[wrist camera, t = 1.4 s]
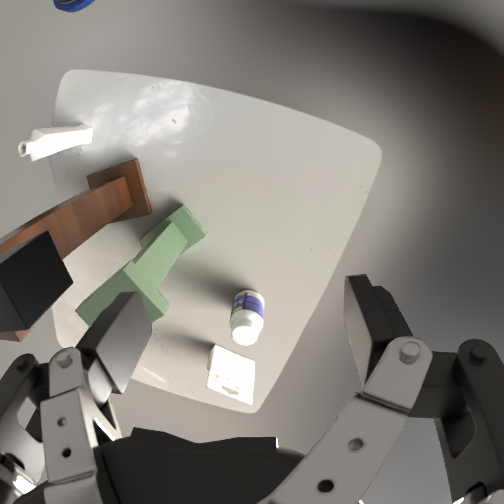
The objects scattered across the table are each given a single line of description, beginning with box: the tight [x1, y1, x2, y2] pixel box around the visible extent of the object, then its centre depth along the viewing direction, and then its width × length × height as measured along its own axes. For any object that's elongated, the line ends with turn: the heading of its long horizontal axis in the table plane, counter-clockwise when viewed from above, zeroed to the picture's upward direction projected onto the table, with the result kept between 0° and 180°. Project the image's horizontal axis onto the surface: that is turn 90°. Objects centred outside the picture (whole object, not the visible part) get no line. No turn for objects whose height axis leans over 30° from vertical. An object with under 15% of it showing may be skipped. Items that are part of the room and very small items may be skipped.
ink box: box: [206, 345, 255, 404], centre depth 52 cm, size 3×9×12 cm, turn 61°
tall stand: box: [0, 159, 152, 342], centre depth 29 cm, size 12×9×32 cm
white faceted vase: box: [18, 124, 92, 162], centre depth 33 cm, size 5×4×15 cm
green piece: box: [75, 204, 207, 327], centre depth 37 cm, size 10×6×21 cm, turn 126°
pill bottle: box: [230, 290, 264, 345], centre depth 47 cm, size 5×5×9 cm
